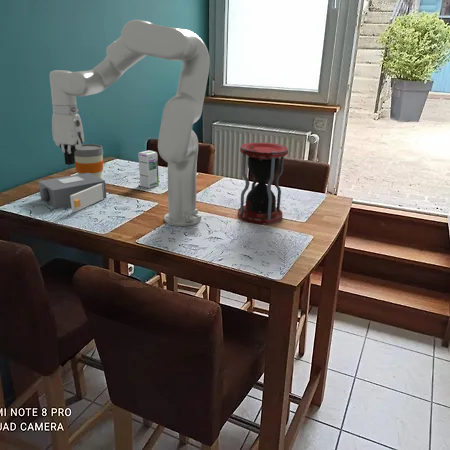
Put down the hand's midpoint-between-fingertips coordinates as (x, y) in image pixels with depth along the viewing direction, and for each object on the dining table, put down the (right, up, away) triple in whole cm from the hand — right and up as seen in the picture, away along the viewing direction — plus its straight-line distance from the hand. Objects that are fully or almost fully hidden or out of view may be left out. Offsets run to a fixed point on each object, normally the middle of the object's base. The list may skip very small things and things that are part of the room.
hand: (70, 163), depth 150 cm
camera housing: (-4, -11, +16) cm, 20 cm away
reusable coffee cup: (-4, -3, +37) cm, 37 cm away
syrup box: (+22, -5, +34) cm, 41 cm away
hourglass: (+66, -18, +5) cm, 69 cm away
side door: (+4, -14, +8) cm, 17 cm away
